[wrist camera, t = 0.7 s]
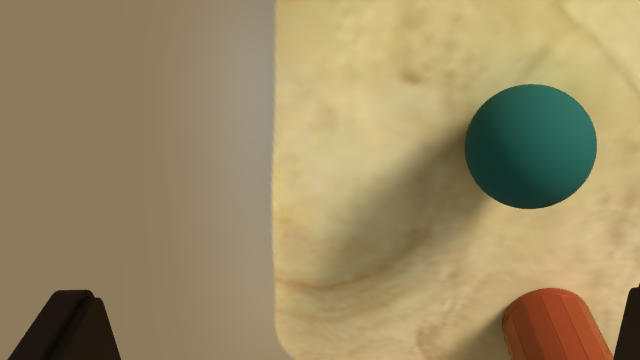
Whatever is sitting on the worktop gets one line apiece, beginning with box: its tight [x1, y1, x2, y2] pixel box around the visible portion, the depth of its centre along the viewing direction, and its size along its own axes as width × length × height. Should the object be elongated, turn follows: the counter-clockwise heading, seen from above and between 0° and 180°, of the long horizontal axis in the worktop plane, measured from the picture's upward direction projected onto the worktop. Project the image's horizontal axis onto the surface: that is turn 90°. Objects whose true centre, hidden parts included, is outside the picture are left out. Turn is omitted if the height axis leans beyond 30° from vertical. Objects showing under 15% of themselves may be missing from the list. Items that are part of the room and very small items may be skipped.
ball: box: [465, 84, 597, 209], centre depth 29 cm, size 6×6×6 cm
